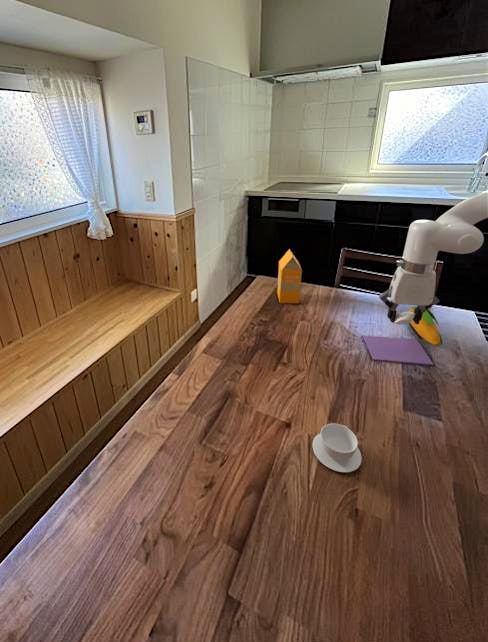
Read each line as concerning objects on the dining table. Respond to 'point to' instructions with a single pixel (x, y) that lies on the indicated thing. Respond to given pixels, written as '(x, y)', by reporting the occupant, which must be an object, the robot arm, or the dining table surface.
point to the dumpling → (404, 318)
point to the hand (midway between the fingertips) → (403, 320)
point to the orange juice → (289, 279)
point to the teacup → (337, 448)
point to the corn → (427, 328)
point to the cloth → (397, 350)
